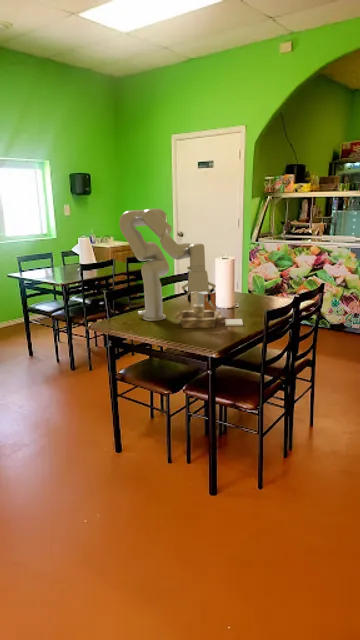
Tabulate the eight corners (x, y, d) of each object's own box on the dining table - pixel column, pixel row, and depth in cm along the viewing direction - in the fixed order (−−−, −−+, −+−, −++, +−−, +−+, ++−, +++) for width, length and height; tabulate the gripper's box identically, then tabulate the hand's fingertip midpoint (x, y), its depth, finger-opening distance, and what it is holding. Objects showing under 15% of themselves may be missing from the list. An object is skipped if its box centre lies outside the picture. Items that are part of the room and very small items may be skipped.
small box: (204, 317, 239) (204, 294, 236) (197, 315, 244) (197, 292, 241) (216, 315, 243) (216, 292, 240) (209, 312, 248) (209, 290, 245)
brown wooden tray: (175, 329, 218) (174, 319, 217) (178, 319, 237) (177, 310, 235) (221, 328, 216) (221, 319, 215) (220, 318, 235) (220, 309, 234)
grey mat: (225, 326, 221) (225, 324, 220) (224, 321, 230) (224, 319, 230) (243, 326, 220) (243, 324, 220) (241, 320, 230) (241, 318, 229)
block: (193, 325, 224) (193, 306, 221) (194, 322, 230) (193, 304, 227) (203, 325, 224) (203, 306, 221) (203, 322, 229) (203, 303, 227)
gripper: (180, 270, 216) (182, 304, 220) (215, 268, 215) (216, 302, 219) (181, 268, 223) (183, 301, 228) (215, 266, 222) (216, 299, 226)
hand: (199, 301), depth 223 cm, fingers open, 9 cm apart
